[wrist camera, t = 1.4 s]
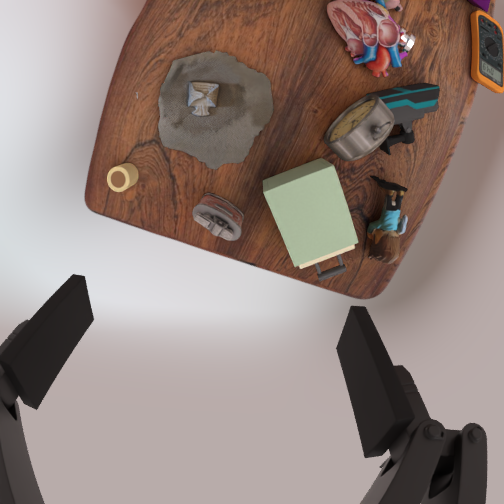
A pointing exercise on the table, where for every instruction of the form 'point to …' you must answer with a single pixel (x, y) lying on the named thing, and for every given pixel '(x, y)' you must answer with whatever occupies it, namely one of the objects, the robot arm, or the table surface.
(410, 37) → the grooved metal pulley
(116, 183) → the tape
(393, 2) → the figurine
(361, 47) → the anatomical model
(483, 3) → the perfume bottle
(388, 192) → the figurine
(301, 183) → the cabinet
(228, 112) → the grey stone sculpture
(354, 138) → the alarm clock
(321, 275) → the drawer
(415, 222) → the table surface
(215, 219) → the lighter
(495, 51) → the multimeter
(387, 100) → the surveillance camera
